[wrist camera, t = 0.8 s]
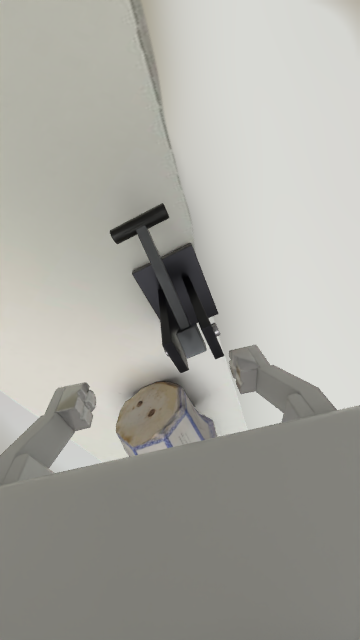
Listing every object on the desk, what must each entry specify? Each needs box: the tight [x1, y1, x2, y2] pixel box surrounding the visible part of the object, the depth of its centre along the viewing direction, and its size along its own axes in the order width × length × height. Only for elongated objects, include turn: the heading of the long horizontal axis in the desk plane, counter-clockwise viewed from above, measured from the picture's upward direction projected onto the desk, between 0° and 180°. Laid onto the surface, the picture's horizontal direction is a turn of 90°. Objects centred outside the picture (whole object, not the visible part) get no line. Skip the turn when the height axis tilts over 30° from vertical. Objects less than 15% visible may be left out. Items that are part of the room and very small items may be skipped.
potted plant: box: [116, 381, 217, 457], centre depth 41 cm, size 18×18×30 cm
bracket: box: [132, 243, 224, 373], centre depth 26 cm, size 12×9×14 cm
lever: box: [110, 203, 206, 358], centre depth 21 cm, size 15×6×2 cm, turn 24°
